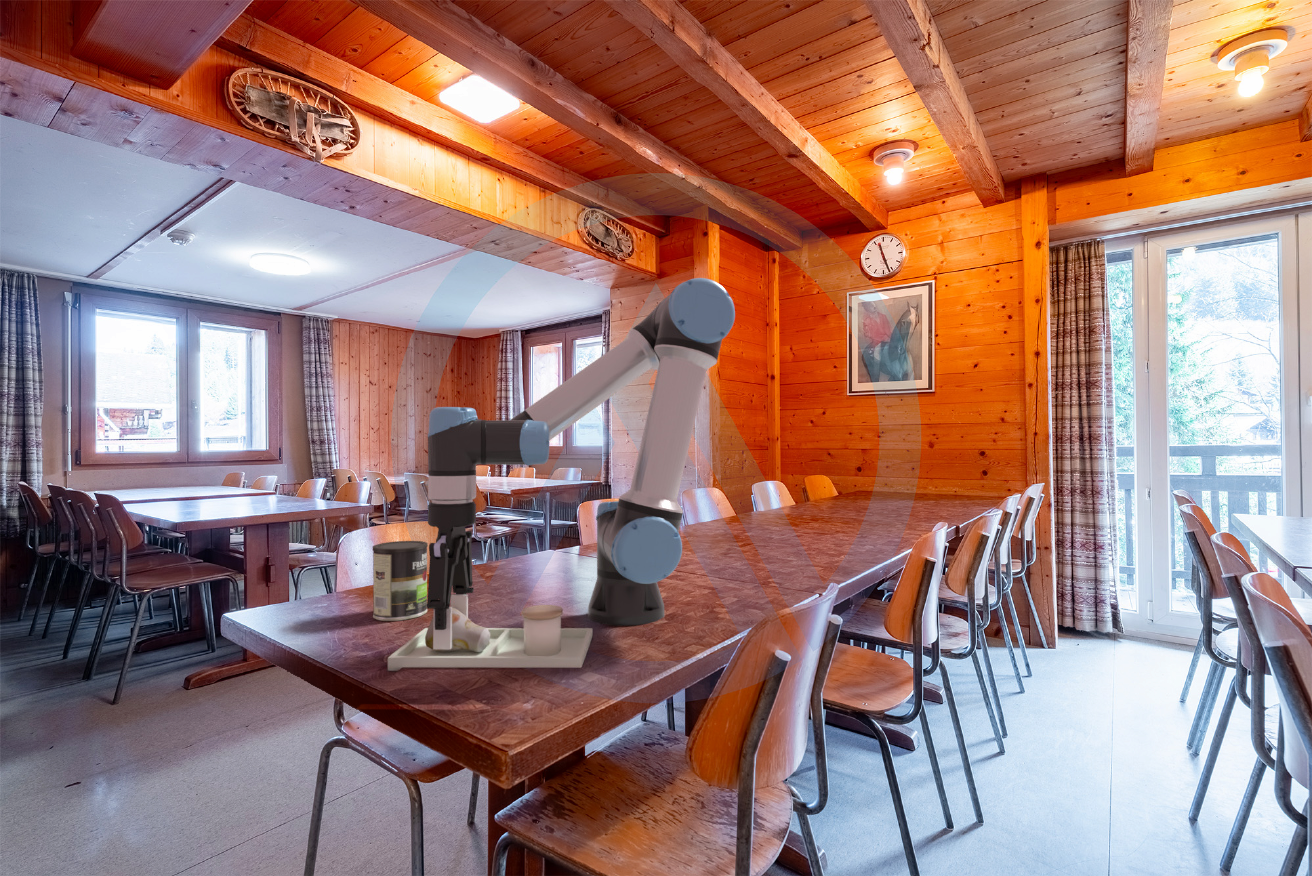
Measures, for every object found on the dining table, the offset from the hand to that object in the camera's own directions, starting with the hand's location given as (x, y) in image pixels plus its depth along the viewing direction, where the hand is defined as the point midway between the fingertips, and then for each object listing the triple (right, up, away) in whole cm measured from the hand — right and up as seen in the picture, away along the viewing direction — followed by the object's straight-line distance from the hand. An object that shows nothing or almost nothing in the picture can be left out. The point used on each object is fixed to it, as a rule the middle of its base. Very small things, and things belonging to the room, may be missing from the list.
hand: (451, 640), depth 99 cm
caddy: (+8, -2, 0) cm, 8 cm away
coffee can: (-18, -3, +23) cm, 30 cm away
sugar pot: (+15, -2, 0) cm, 15 cm away
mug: (+2, -2, 0) cm, 2 cm away
